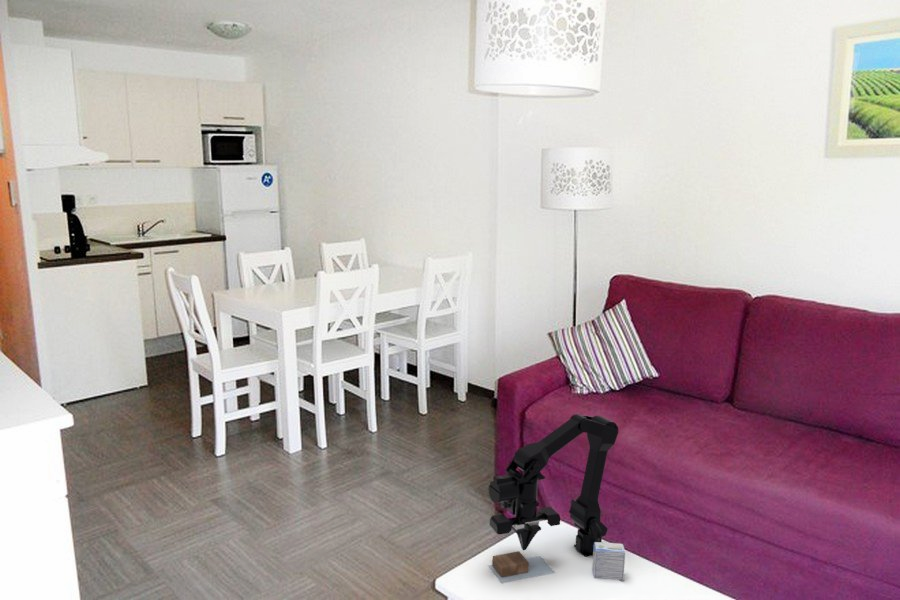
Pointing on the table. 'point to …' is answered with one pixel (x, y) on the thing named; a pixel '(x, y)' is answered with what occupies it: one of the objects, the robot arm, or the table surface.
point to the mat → (535, 569)
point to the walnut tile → (510, 564)
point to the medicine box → (608, 561)
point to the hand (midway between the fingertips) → (523, 549)
